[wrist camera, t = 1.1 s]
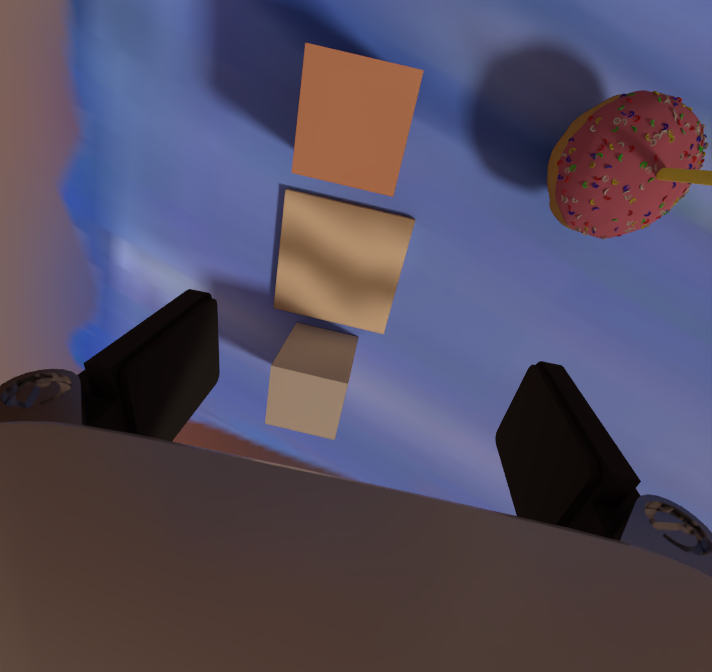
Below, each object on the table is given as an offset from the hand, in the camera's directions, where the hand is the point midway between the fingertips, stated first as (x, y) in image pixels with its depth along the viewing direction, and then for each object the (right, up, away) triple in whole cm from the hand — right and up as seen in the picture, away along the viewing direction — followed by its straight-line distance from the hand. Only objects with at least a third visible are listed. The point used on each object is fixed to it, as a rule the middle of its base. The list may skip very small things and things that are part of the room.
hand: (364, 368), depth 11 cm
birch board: (-2, +7, +22) cm, 23 cm away
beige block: (-4, -1, +27) cm, 27 cm away
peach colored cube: (0, +17, +17) cm, 24 cm away
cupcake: (+17, +14, +16) cm, 28 cm away
